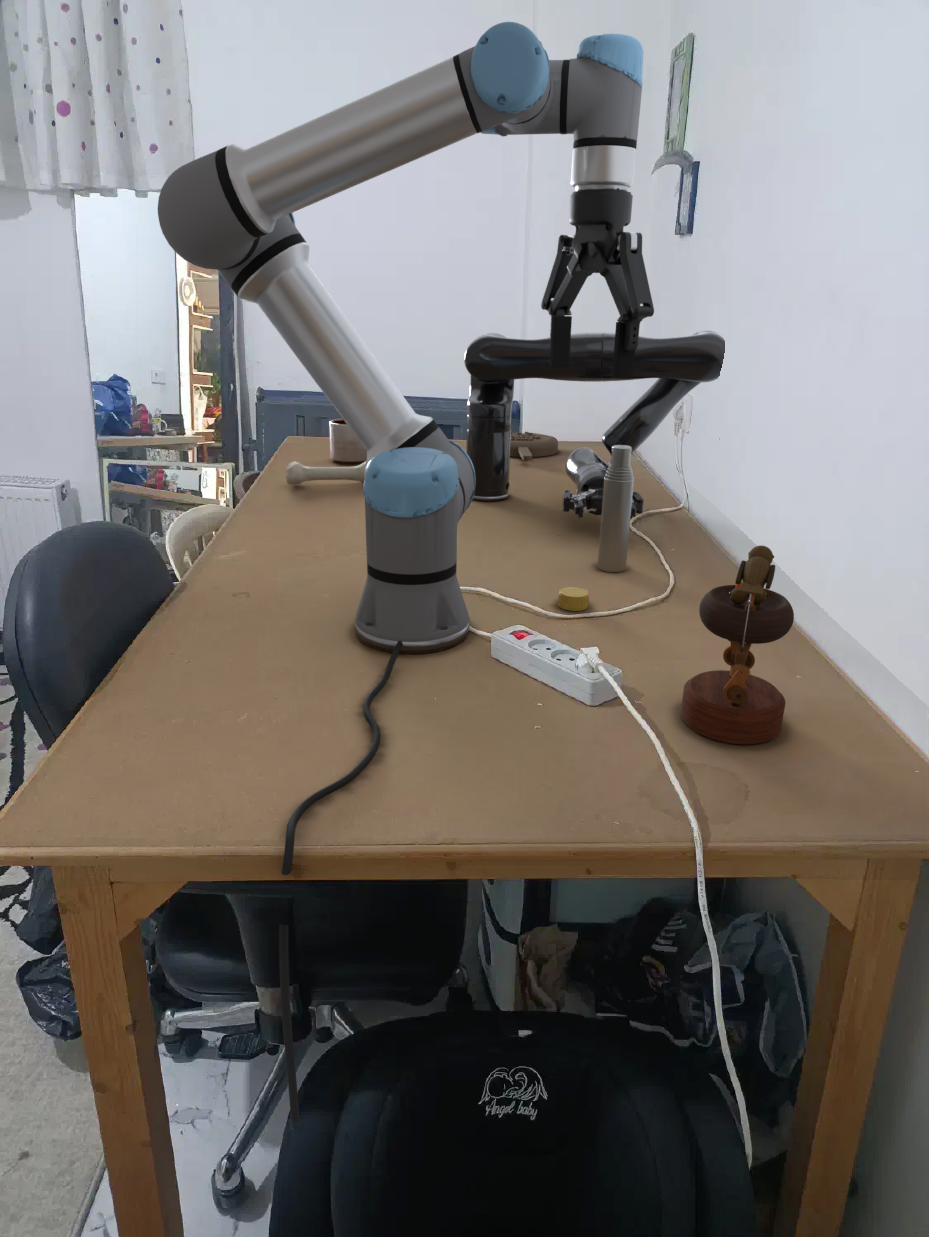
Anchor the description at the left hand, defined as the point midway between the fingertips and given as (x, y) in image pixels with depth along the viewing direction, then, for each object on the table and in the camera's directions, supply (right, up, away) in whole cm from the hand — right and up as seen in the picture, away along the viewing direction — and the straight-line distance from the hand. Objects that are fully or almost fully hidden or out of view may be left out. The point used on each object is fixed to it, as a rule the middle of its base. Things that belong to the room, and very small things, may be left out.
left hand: (589, 372), depth 110 cm
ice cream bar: (-1, +11, +113) cm, 113 cm away
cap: (0, -29, +12) cm, 31 cm away
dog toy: (-46, -2, +79) cm, 92 cm away
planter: (-45, +8, +104) cm, 113 cm away
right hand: (+8, -14, +36) cm, 39 cm away
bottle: (+8, -24, +29) cm, 38 cm away
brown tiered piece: (+13, -43, -18) cm, 48 cm away
